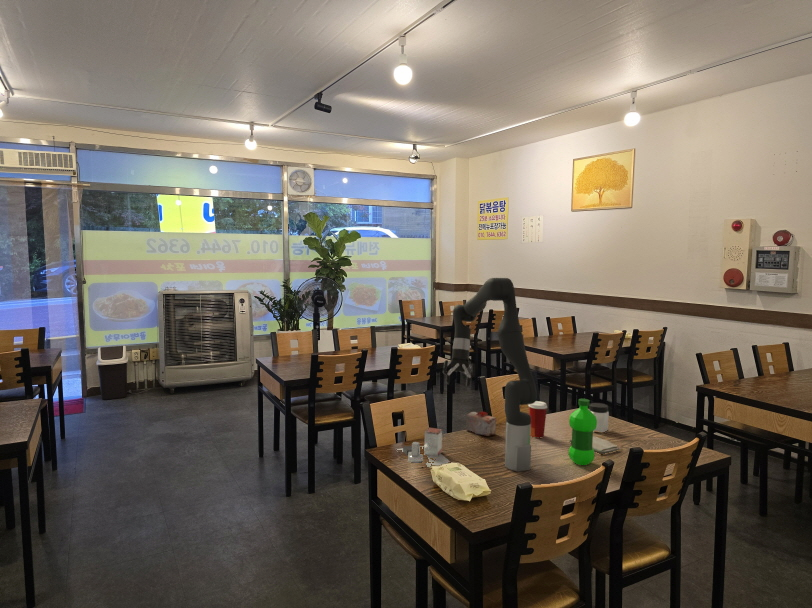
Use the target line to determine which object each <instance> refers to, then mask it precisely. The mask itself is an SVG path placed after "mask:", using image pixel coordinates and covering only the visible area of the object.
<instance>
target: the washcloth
mask: <svg viewBox="0 0 812 608" xmlns="http://www.w3.org/2000/svg"><path fill="white" fill-rule="evenodd" d="M570 442H571V443H570ZM569 443H570V444H572V438H570V439H569ZM592 448H593V450H594V452H597V453H599V454H605V453H609V452H613V451H617V450H620V448H619V447H618V445H617V444H615V443H612V442H611V441H610V440H606V439H604V438H603V439H602V438H601V437H597V436H596V435H595V436H594V435H593V442H592Z"/></svg>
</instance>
